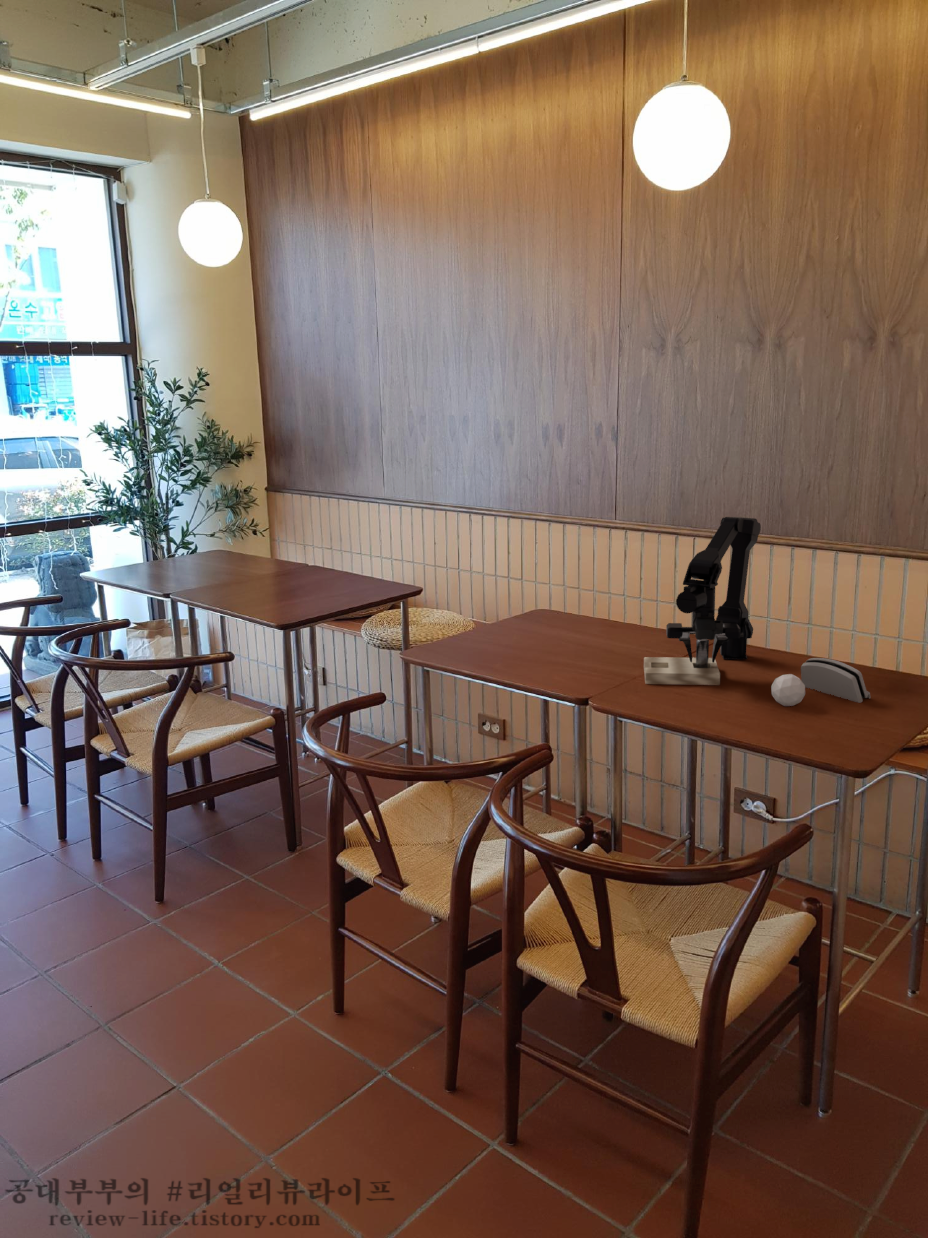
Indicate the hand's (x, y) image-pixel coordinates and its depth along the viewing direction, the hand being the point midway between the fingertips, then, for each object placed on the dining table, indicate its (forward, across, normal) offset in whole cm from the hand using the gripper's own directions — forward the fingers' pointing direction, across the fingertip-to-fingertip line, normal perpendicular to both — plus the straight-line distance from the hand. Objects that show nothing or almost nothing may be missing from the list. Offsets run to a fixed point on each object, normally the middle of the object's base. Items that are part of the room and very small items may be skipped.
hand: (702, 661), depth 249 cm
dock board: (+4, -6, 0) cm, 7 cm away
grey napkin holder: (+4, +31, -12) cm, 33 cm away
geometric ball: (+4, +18, -21) cm, 28 cm away
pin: (+4, 0, 0) cm, 4 cm away
